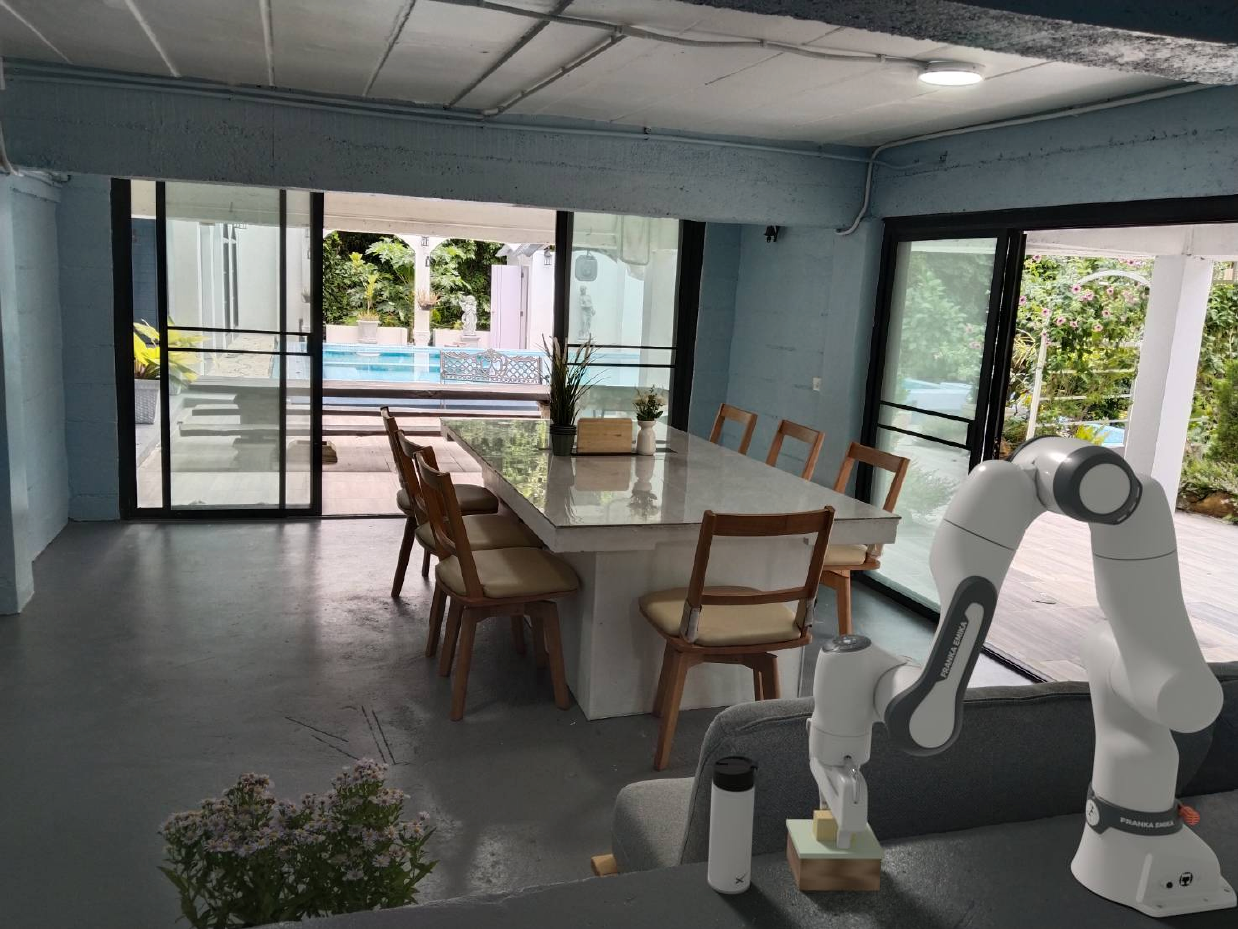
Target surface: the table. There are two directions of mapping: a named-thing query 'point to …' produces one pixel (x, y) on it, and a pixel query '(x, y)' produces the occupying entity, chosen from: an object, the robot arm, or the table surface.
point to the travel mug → (731, 824)
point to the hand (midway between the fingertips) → (834, 828)
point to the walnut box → (833, 872)
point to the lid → (830, 839)
